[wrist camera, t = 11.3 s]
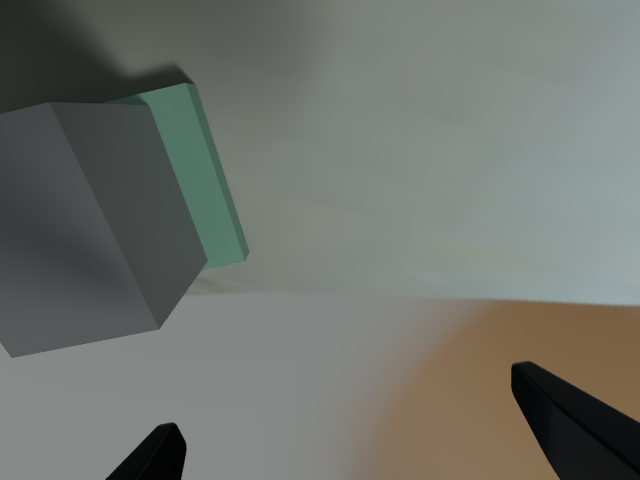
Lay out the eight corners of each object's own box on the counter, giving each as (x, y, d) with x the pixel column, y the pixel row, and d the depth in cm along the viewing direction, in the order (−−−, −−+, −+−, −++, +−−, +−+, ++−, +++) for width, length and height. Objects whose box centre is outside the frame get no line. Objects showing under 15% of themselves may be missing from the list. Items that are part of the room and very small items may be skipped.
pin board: (195, 84, 16) (167, 78, 13) (249, 252, 19) (237, 278, 16) (4, 130, 16) (-66, 134, 13) (88, 284, 19) (47, 316, 16)
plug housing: (149, 105, 15) (48, 102, 9) (207, 260, 18) (159, 329, 12) (27, 134, 15) (-140, 148, 10) (105, 281, 18) (11, 357, 12)
